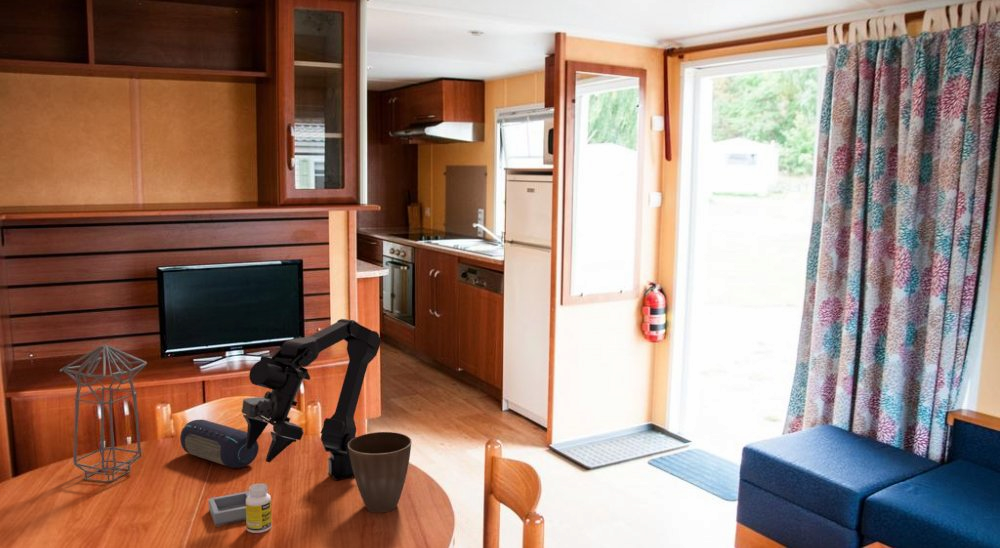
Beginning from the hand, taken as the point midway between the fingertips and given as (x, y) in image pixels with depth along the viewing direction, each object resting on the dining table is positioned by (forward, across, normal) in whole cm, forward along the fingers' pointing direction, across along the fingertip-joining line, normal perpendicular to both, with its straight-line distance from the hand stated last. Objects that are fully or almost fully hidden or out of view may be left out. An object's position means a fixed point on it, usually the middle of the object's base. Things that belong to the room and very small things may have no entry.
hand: (257, 455), depth 182 cm
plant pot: (+1, +20, +24) cm, 32 cm away
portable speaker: (+12, -35, +14) cm, 40 cm away
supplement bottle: (+14, +10, +1) cm, 17 cm away
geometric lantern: (+23, -45, -8) cm, 51 cm away
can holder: (+15, -1, +1) cm, 15 cm away
